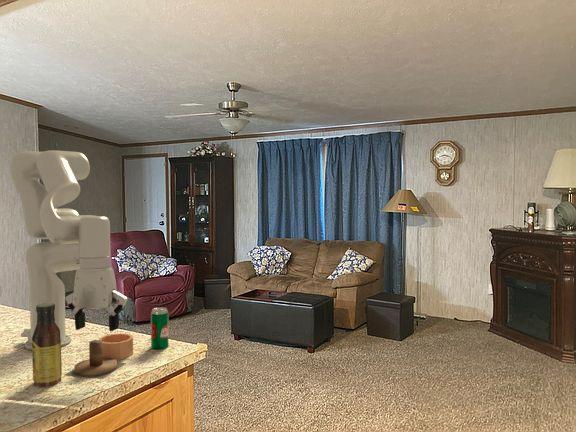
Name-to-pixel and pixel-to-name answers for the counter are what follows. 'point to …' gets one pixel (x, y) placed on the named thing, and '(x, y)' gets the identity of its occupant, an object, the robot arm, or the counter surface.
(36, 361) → the sauce bottle
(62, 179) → the robot arm
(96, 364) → the lid
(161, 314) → the soda can
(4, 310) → the counter surface
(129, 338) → the bowl
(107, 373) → the mat
